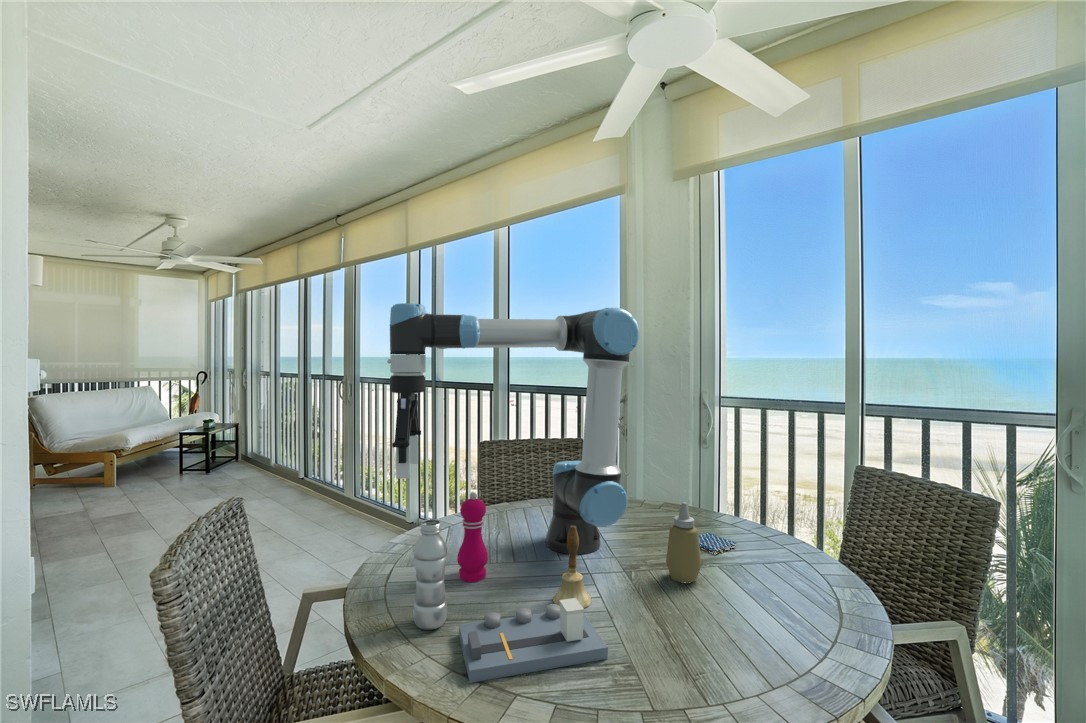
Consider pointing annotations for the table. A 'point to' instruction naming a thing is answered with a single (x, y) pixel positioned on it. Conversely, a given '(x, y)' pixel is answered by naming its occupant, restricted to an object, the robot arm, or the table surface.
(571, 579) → the hand bell
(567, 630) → the fader tab
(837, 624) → the table surface
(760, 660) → the table surface
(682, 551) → the squeeze bottle
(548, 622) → the console board
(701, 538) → the woven mat
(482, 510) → the pepper mill
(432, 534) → the plastic bottle
